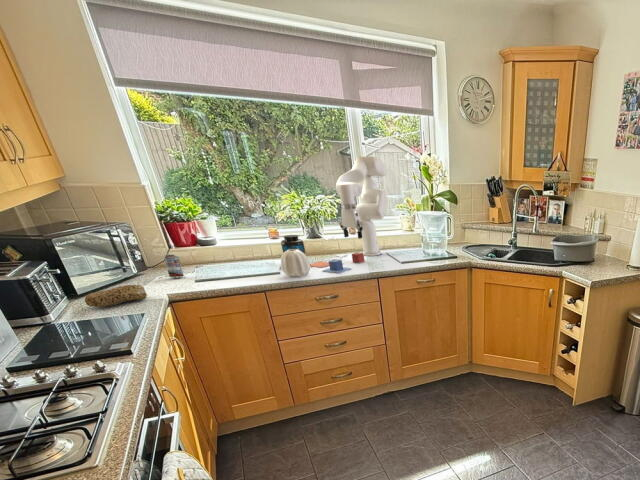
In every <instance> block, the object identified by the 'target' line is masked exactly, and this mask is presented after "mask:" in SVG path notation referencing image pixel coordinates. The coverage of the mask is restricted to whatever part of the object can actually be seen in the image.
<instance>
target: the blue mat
mask: <svg viewBox="0 0 640 480" xmlns="http://www.w3.org/2000/svg"><path fill="white" fill-rule="evenodd" d="M349 270H352V268H351V267H344V266H343V269H341V270H338V271H335V270H330V267H329V268H327V269H324V270H322V272H323V273H331V274H341V273H344V272H346V271H349Z"/></svg>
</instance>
